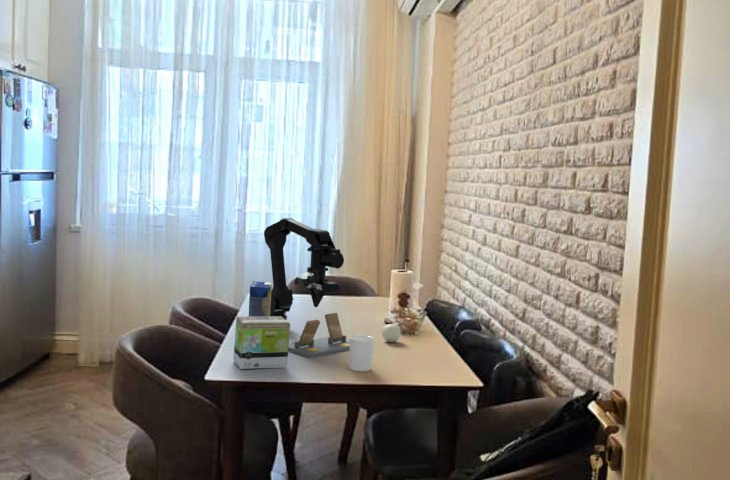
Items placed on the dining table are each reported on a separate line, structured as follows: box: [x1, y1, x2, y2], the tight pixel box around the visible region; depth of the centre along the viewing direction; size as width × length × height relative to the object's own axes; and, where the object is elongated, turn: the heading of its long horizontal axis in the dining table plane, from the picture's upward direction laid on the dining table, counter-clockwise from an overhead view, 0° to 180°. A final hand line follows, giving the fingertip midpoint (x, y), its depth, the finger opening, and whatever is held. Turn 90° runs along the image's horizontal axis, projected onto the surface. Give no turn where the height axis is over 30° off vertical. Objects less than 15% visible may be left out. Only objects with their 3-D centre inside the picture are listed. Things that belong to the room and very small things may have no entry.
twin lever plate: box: [288, 334, 350, 359], centre depth 248 cm, size 14×24×3 cm, turn 137°
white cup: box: [348, 334, 375, 372], centre depth 225 cm, size 8×8×10 cm
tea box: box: [233, 316, 291, 370], centre depth 222 cm, size 15×10×15 cm
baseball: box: [381, 323, 402, 343], centre depth 263 cm, size 7×7×7 cm
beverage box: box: [248, 280, 273, 317], centre depth 242 cm, size 7×11×22 cm, turn 6°
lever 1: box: [298, 319, 321, 347], centre depth 241 cm, size 1×5×10 cm, turn 137°
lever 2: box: [324, 312, 344, 342], centre depth 253 cm, size 1×5×10 cm, turn 137°
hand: (315, 306), depth 259 cm, fingers closed
